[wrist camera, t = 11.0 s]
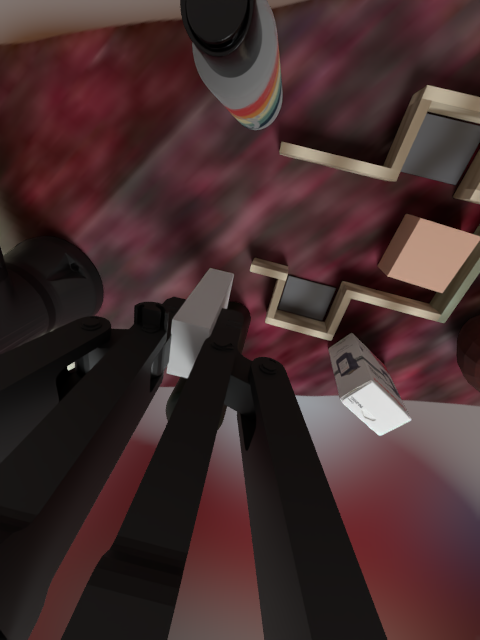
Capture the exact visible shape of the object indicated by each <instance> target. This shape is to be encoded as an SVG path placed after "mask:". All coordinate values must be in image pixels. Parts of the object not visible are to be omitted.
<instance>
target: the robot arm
mask: <svg viewBox="0 0 480 640" xmlns="http://www.w3.org/2000/svg"><path fill="white" fill-rule="evenodd" d="M233 278H234V274H233V273H229V272H224V271H220V270H216V269H212V268H209V270H208V271H207V273H206V274H205V275H204V277H203V278H202V279H201V281H200V282H199V283H198V285H197V286H196V288H195V289H194V290H193V292H192V293H191V294H190V296H189V297H188V298H187V300H185V299H181V298H177V297H172V298H169V299H167V300H166V301H165V302H164V303H163V304H160V303H156V302H142V303H139V304H137V305H135V308H134V325H133V326H132V327H131V328H130V329H111V324H110V322H109V321H108V320H107V319H105V318H102V317H98V316H94V315H95V314H96V313H97V312H98V311H99V309H100V308H101V305H102V302H103V286H102V282H101V279H100V276H99V274H98V272H97V270H96V269H95V267H94V265H93V264H92V263H91V261H90V260H89V259H88V258H87V257H86V255H85V254H84V253H83V252H81V251H80V250H79V249H78V248H76V247H75V246H74V245H72V244H70V243H69V242H67V241H65V240H62V239H60V238H56V237H51V236H40V237H36V238H32V239H28V240H25V241H23V242H21V243H19V244H18V245H16V246H15V247H14V248H13V249H12V250H11V251H9V252H8V253H6V254H5V255H4V256H3V254H2V251H1V248H0V640H28V638H29V636H30V634H31V632H32V630H33V628H34V626H35V624H36V622H37V620H38V618H39V615H40V613H41V610H42V608H43V605H44V602H45V598H46V595H47V591H48V588H49V586H50V583H51V581H52V579H53V577H54V575H55V573H56V571H57V569H58V568H59V566H60V564H61V562H62V560H63V559H64V557H65V555H66V553H67V551H68V550H69V548H70V546H71V544H72V543H73V541H74V539H75V537H76V535H77V533H78V532H79V530H80V528H81V526H82V524H83V523H84V521H85V519H86V517H87V515H88V514H89V512H90V510H91V508H92V507H93V505H94V503H95V501H96V499H97V497H98V496H99V494H100V492H101V490H102V489H103V486H104V485H105V483H106V481H107V479H108V478H109V476H110V474H111V472H112V471H113V469H114V467H115V465H116V463H117V461H118V460H119V458H120V456H121V454H122V453H123V451H124V449H125V447H126V445H127V444H128V442H129V440H130V438H131V436H132V435H133V433H134V431H135V429H136V427H137V426H138V424H139V422H140V420H141V418H142V417H143V415H144V413H145V411H146V409H147V408H148V406H149V404H150V402H151V400H152V399H153V397H154V395H155V393H156V391H157V390H158V388H159V386H160V384H161V383H162V380H163V373H164V370H165V368H166V366H167V364H168V366H167V373H168V374H172V375H176V376H180V377H184V378H188V379H187V381H186V383H185V385H184V387H183V390H182V392H181V394H180V396H179V399H178V401H177V403H176V405H175V407H174V410H173V412H172V414H171V416H170V419H169V421H168V423H167V425H166V428H165V430H164V432H163V434H162V437H161V439H160V441H159V443H158V445H157V448H156V450H155V452H154V455H153V457H152V459H151V461H150V464H149V466H148V468H147V470H146V472H145V474H144V477H143V479H142V481H141V483H140V486H139V488H138V490H137V492H136V494H135V497H134V499H133V501H132V503H131V506H130V508H129V510H128V512H127V514H126V517H125V519H124V521H123V523H122V526H121V528H120V530H119V532H118V535H117V537H116V539H115V541H114V543H113V545H112V546H111V548H110V550H108V551H107V552H106V553H105V554H104V555H103V556H102V558H101V559H100V561H99V562H98V564H97V566H96V567H95V569H94V571H93V573H92V575H91V577H90V579H89V581H88V583H87V585H86V587H85V589H84V591H83V594H82V596H81V598H80V600H79V602H78V604H77V606H76V608H75V611H74V613H73V615H72V617H71V619H70V621H69V623H68V626H67V627H66V630H65V632H64V634H63V636H62V638H61V640H167V638H168V634H169V630H170V625H171V622H172V617H173V613H174V609H175V605H176V600H177V596H178V593H179V588H180V584H181V579H182V575H183V570H184V566H185V562H186V558H187V554H188V550H189V546H190V541H191V537H192V533H193V529H194V525H195V521H196V516H197V512H198V508H199V504H200V500H201V496H202V492H203V487H204V483H205V479H206V475H207V471H208V467H209V462H210V458H211V454H212V450H213V446H214V442H215V437H216V433H217V429H218V425H219V421H220V417H221V413H222V408H223V404H225V405H226V406H228V407H230V408H232V409H234V410H235V411H237V420H238V428H239V436H240V445H241V453H242V461H243V469H244V477H245V485H246V493H247V502H248V510H249V518H250V526H251V534H252V543H253V550H254V559H255V567H256V575H257V583H258V591H259V599H260V608H261V615H262V624H263V632H264V640H387V637H386V635H385V632H384V629H383V627H382V624H381V622H380V619H379V616H378V614H377V611H376V608H375V606H374V603H373V600H372V598H371V595H370V593H369V590H368V587H367V584H366V582H365V579H364V576H363V574H362V571H361V569H360V566H359V563H358V561H357V558H356V555H355V553H354V550H353V547H352V545H351V542H350V540H349V537H348V534H347V532H346V529H345V526H344V524H343V521H342V518H341V516H340V513H339V510H338V508H337V505H336V502H335V500H334V497H333V495H332V492H331V489H330V487H329V484H328V481H327V479H326V476H325V474H324V471H323V468H322V465H321V463H320V460H319V458H318V455H317V452H316V450H315V447H314V444H313V442H312V439H311V436H310V434H309V431H308V428H307V426H306V423H305V421H304V418H303V415H302V413H301V410H300V407H299V405H298V402H297V399H296V397H295V394H294V391H293V389H292V386H291V383H290V381H289V378H288V376H287V373H286V370H285V368H284V367H283V365H282V364H280V363H279V362H278V361H276V360H274V359H272V358H268V357H258V358H256V359H254V360H253V361H251V360H249V359H247V358H245V357H244V356H243V355H241V353H240V352H239V351H238V341H239V337H240V333H241V328H242V324H243V320H244V317H243V315H242V313H241V312H237V311H233V310H229V309H227V306H228V301H229V297H230V292H231V287H232V282H233ZM73 362H75V368H73V369H71V370H69V371H68V370H67V366H68V365H70V364H71V363H73Z"/></svg>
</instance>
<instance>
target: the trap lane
mask: <svg viewBox="0 0 480 640" xmlns="http://www.w3.org/2000/svg"><path fill="white" fill-rule="evenodd" d="M427 111H428V112H432V113H437V114H441V115H445V116H449V117H453V118H458V119H462V120H466V121H470V122H474V123H479V124H480V97H477V96H472V95H468V94H464V93H459V92H455V91H451V90H447V89H442V88H438V87H434V86H430V85H427V86H425V87H424V88H422V89H421V90H419V91H418V92H416V93H415V94H413V96H412V98H411V100H410V103H409V105H408V108H407V110H406V112H405V115H404V117H403V119H402V122H401V124H400V127H399V129H398V131H397V134H396V136H395V139H394V141H393V143H392V146H391V148H390V151H389V153H388V155H387V158H386V160H385V162H384V165H383V166H379V165H374V164H370V163H366V162H362V161H358V160H354V159H350V158H346V157H342V156H338V155H334V154H330V153H326V152H322V151H318V150H314V149H310V148H306V147H302V146H298V145H294V144H290V143H286V142H282V143H281V147H280V151H279V153H280V155H284V156H288V157H292V158H296V159H300V160H304V161H308V162H312V163H316V164H320V165H324V166H328V167H332V168H336V169H340V170H344V171H348V172H352V173H356V174H360V175H364V176H368V177H372V178H376V179H380V180H384V181H396V180H397V178H398V175H399V173H400V172H404V173H408V174H412V175H417V176H421V177H425V178H429V179H433V180H437V181H441V182H445V183H449V184H453V185H456V184H457V182H458V180H459V179H460V177H461V175H462V173H463V171H464V170H465V168H466V166H467V164H468V162H469V161H470V159H471V157H472V155H473V153H474V152H475V150H476V148H477V146H478V144H479V143H480V126H477V125H473V124H469V123H465V122H460V121H456V120H452V119H448V118H444V117H440V116H435V115H431V114H427ZM452 198H456V199H461V200H465V201H469V202H473V203H477V204H480V149H479V151H478V153H477V154H476V156H475V158H474V160H473V162H472V163H471V165H470V167H469V169H468V171H467V172H466V174H465V176H464V178H463V180H462V181H461V183H460V185H459V187H458V188H457V190H456V192H455V194H454V196H453V197H452ZM474 235H477V236H480V224H479V226H478V227H477V229H476V231H475V232H474ZM250 272H254V273H258V274H262V275H265V276H269V277H273V278H277V281H276V284H275V287H274V290H273V294H272V297H271V300H270V304H269V307H268V310H267V314H266V320H265V323H268V324H271V325H275V326H278V327H282V328H286V329H289V330H293V331H297V332H300V333H304V334H308V335H311V336H315V337H319V338H322V339H326V340H330V341H332V339H333V336H334V334H335V332H336V330H337V328H338V326H339V324H340V321H341V319H342V317H343V315H344V313H345V311H346V309H347V307H348V304H349V302H350V300H351V299H355V300H359V301H363V302H366V303H370V304H374V305H378V306H381V307H385V308H389V309H392V310H396V311H400V312H404V313H407V314H411V315H415V316H419V317H422V318H426V319H430V320H434V321H437V322H441V323H445V322H446V320H447V319H448V318H449V316H450V315H451V313H452V312H453V310H454V309H455V307H456V306H457V305H458V303H459V302H460V300H461V299H462V297H463V296H464V294H465V293H466V292H467V290H468V289H469V287H470V286H471V284H472V283H473V281H474V280H475V279H476V277H477V276H478V274H479V273H480V241H479V242H478V244H477V245H476V246H475V248H474V249H473V251H472V252H471V254H470V255H469V256H468V258H467V259H466V261H465V262H464V263H463V265H462V266H461V268H460V269H459V271H458V272H457V273H456V275H455V276H454V278H453V279H452V280H451V282H450V283H449V285H448V286H447V287H446V289H445V290H444V292H443V293H440V292H436V294H435V295H434V297H433V299H432V300H431V302H430V303H429V304H428V303H424V302H420V301H417V300H413V299H409V298H405V297H402V296H398V295H394V294H390V293H386V292H383V291H379V290H375V289H371V288H368V287H364V286H360V285H356V284H352V283H349V282H345V281H342V283H341V285H340V288H339V290H338V292H337V295H336V297H335V299H334V301H333V304H332V306H331V308H330V311H329V313H328V315H327V318H326V320H325V322H322V320H323V318H324V315H325V313H326V311H327V308H328V306H329V304H330V301H331V299H332V297H333V294H334V292H335V290H336V288H334V287H331V286H327V285H323V284H319V283H316V282H312V281H308V280H304V279H301V278H297V277H293V276H288V279H287V283H286V286H285V289H284V292H283V295H282V298H281V301H280V304H279V307H278V309H280V310H278V309H277V306H278V303H279V300H280V297H281V294H282V291H283V288H284V285H285V282H286V278H287V275H288V266H285V265H281V264H277V263H273V262H270V261H266V260H262V259H258V258H254V260H253V262H252V264H251V269H250ZM282 310H284V311H282ZM285 311H288V312H285ZM289 312H291V313H289ZM293 313H295V314H293ZM296 314H299V315H296ZM300 315H302V316H300ZM304 316H306V317H304ZM307 317H310V318H307ZM311 318H314V319H311ZM315 319H317V320H315ZM318 320H321V321H318Z"/></svg>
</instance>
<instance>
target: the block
mask: <svg viewBox="0 0 480 640" xmlns="http://www.w3.org/2000/svg"><path fill="white" fill-rule="evenodd" d="M479 241H480V236H477V235H474V234H471V233H468V232H464V231H461V230H458V229H455V228H452V227H448V226H445V225H442V224H439V223H435V222H432V221H429V220H426V219H422V218H419V217H416V216H413V215H409V214H405V216H404V218H403V220H402V222H401V224H400V225H399V227H398V229H397V231H396V233H395V235H394V237H393V238H392V240H391V242H390V244H389V246H388V248H387V249H386V251H385V253H384V255H383V257H382V259H381V260H380V262H379V264H378V267H379V268H380V269H381V270H382V271H383V272H384V273H385V274H386V275H387V276H388V277H392V278H395V279H398V280H401V281H404V282H408V283H411V284H414V285H417V286H420V287H424V288H427V289H430V290H433V291H436V292H440V293H443V292H444V290H445V289H446V287H447V286H448V285H449V283H450V282H451V280H452V279H453V278H454V276H455V275H456V273H457V272H458V271H459V269H460V268H461V266H462V265H463V263H464V262H465V261H466V259H467V258H468V256H469V255H470V254H471V252H472V251H473V249H474V248H475V246H476V245H477V244H478V242H479Z"/></svg>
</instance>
